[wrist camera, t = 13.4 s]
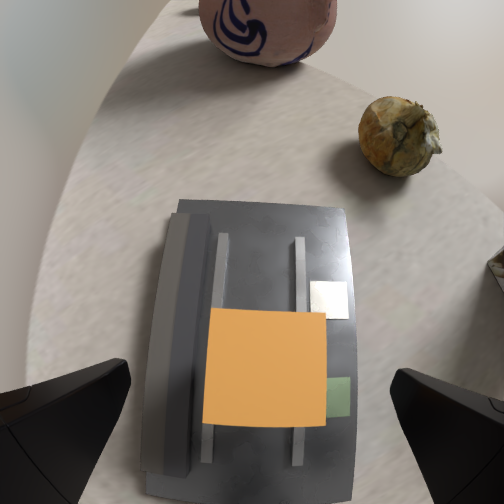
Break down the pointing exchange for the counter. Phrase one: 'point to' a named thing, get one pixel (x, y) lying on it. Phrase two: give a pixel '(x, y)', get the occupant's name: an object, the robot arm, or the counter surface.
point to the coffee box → (498, 266)
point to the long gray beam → (174, 348)
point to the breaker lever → (266, 369)
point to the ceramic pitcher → (268, 28)
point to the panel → (287, 300)
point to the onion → (398, 136)
